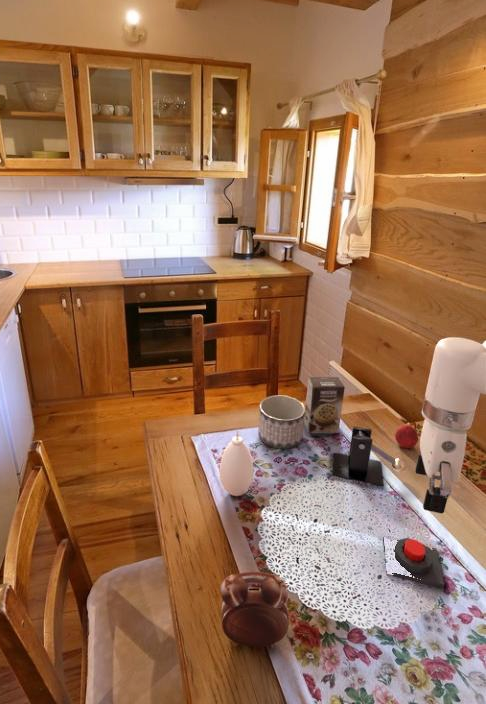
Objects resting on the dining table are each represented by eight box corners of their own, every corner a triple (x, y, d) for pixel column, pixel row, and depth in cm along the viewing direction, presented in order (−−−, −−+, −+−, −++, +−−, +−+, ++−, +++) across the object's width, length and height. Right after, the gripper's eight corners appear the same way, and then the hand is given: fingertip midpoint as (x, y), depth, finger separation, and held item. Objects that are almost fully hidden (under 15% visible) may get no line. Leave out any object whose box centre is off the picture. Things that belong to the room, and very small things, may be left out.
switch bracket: (380, 464, 107) (386, 427, 103) (382, 489, 99) (390, 449, 95) (333, 456, 110) (337, 419, 106) (331, 478, 102) (336, 439, 98)
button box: (435, 552, 83) (438, 541, 82) (443, 589, 75) (446, 578, 74) (382, 540, 85) (385, 529, 84) (386, 574, 78) (388, 563, 77)
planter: (292, 458, 109) (295, 425, 106) (250, 442, 115) (251, 411, 112) (308, 433, 119) (311, 403, 116) (269, 420, 126) (271, 391, 122)
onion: (420, 451, 112) (425, 427, 109) (404, 456, 110) (409, 432, 107) (404, 439, 117) (409, 415, 114) (388, 443, 115) (393, 420, 112)
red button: (422, 548, 81) (423, 541, 80) (425, 564, 77) (426, 557, 77) (402, 543, 82) (404, 537, 81) (404, 559, 78) (406, 552, 78)
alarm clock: (283, 623, 70) (289, 560, 64) (287, 654, 65) (293, 589, 60) (220, 620, 70) (221, 557, 65) (219, 651, 66) (220, 586, 60)
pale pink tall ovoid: (258, 489, 99) (261, 426, 92) (241, 510, 93) (243, 444, 86) (231, 476, 103) (232, 415, 96) (213, 495, 97) (213, 432, 90)
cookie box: (308, 435, 118) (313, 387, 113) (303, 422, 124) (307, 376, 119) (339, 435, 119) (345, 387, 113) (332, 422, 125) (338, 375, 119)
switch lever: (399, 468, 103) (407, 461, 101) (400, 477, 100) (409, 469, 98) (352, 436, 103) (360, 428, 102) (352, 444, 100) (361, 436, 99)
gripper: (488, 446, 59) (463, 535, 65) (460, 388, 75) (441, 464, 81) (432, 437, 61) (412, 523, 67) (416, 382, 77) (401, 456, 83)
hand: (428, 491), depth 74 cm, fingers open, 8 cm apart
